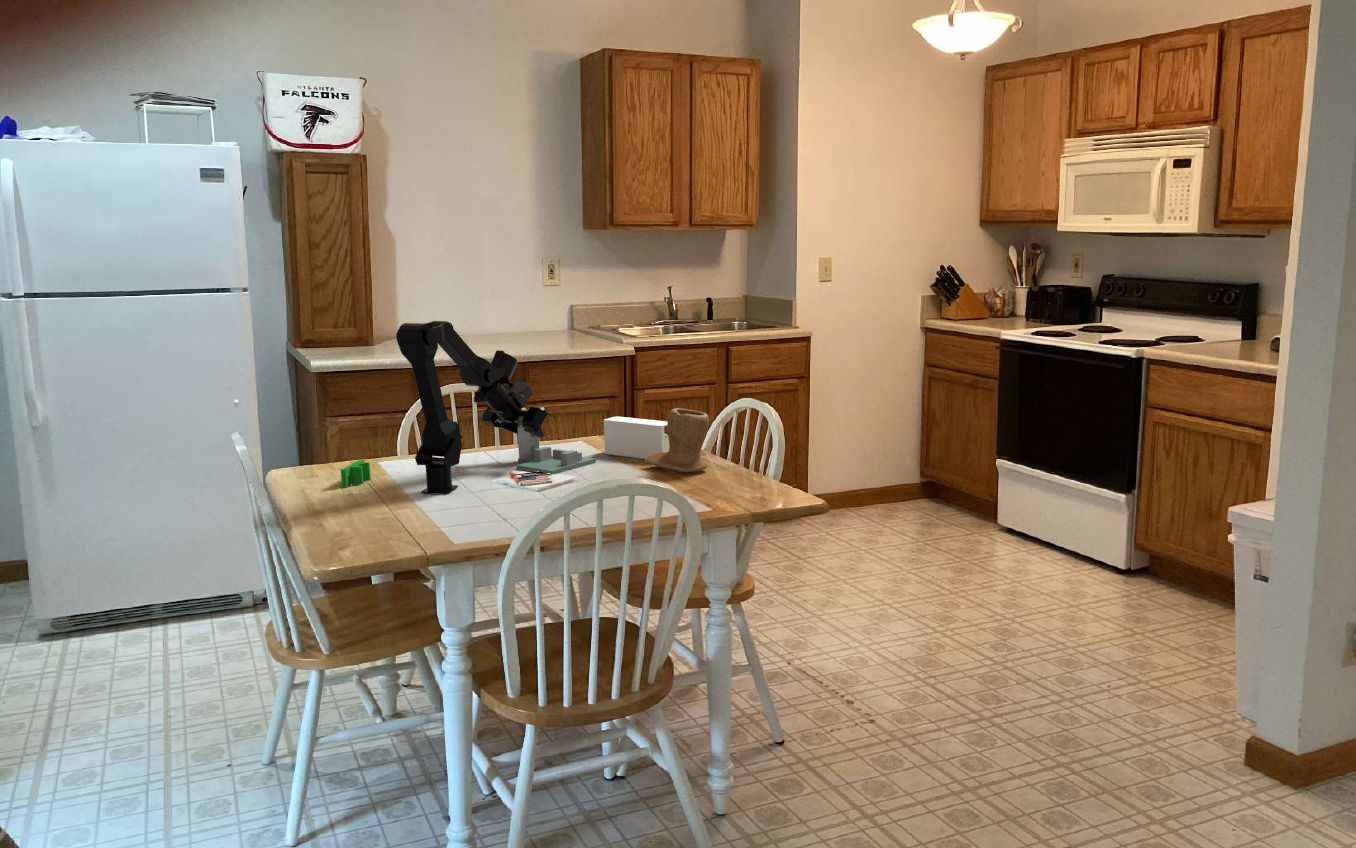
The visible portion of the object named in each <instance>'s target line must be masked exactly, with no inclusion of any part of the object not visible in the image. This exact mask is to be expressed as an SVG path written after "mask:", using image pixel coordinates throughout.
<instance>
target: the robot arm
mask: <svg viewBox="0 0 1356 848" xmlns="http://www.w3.org/2000/svg"><path fill="white" fill-rule="evenodd" d="M395 335H396V336H395V339H396V342H397V344H398V347H399V350H400V353H401V355H402V356H403V357H404V358H405V359H406V360H407V361H408V362H409V363H410V365H411V368H412V372H413V376H414V381H415V385H416V387H417V388H416V389H417V393H418V395H419V396H418V397H419V400H420V405H421V409H422V414H423V418H424V421H425V422H424V423H425V425H424V427H423V429H422V433H421V440H422V441H421V445H420V446H419V448H418V451H417V452H416V454H415V456H414V459H415V463H416V465H417V466H425V477H426V480H425V481H426V487H425V488H424V489H422V490H421V494H436V495H437V494H439V495H441V494H442V495H443V494H444V495H449V494H450V493H451V492H453V491H455V490H456V489H458V487H459V486H458V485H456V484H454V485H453V479H452V478H453V477H452V467H453V466H456V465H459V464H460V459H461V453H462V447H463V445H462V443H463V442H462V438H463V436H462V434H461V431H460V425H459V423H458V421H451V420H450V419H449V418H448V414H447V411H446V406H445V402H444V398H443V394H442V390H441V385H440V380H439V375H438V372H437V367H436V363H435V357H436V354H437V352H438V350H439V349H438V348H439V347H440V348H441V349H442V350H443V351H444V352H445V353H446V355H447V356H448V357H449V359H451V360H452V361H453V363H455V365H456V366H457V367H458V375H459V376H460V378H461V380H462V381H463V383H464V384H465V385H466V386H467V387H477V390H476V391H474V396H473V402H474V403H485V404H486V405H488V406H487V407H486V409H485V410H484V412H483V414H482V415H481V416H482V422H483V423H484V424H485V425H486V426H490V427H494V428H497V429H501V430H502V431H503V430H504V431H507V432H510V433H513V434H516V435H518V428H517V420H518V419H521V420H522V426H523V428H524V431H525V432H528V433H530V434H532V435H535V436H537V437H539V439H542V438H543V437H544V432H543V429H542V425H543V423H544V422H545V420H546V418H547V416H548V415H549V412H548V410H546V408H545V407H544V406H537V405H536V406H535V405H533V406H529V408H528V409H524V408H525V406H526V404H527V403H526V401H527V400H528V399H529V398H530V397H533V396H534V391H533V388H532V386H531V384H530V382H526V381H525V382H524V381H516V382H513V381H510V380H511V379H512V376H513V374H514V373H515V372H514V371H515V370H516V368H517V366H518V359H517V358H516V357H514V356H513V355H511V354H508V353H506V352H505V351H504V350H498V349H497V350H495V353H494V356H493V358H492V360H491V362H490V361H489V360H487V359H486V358H484V357H481V356H479V355H477V354H476V353H475V352H474V351H473V350H472V349H471V347H470V346H469V345H468V343H466V341H465V340H464V339H463V338H462V337H461V336H460V334H459V333H458V332H457V331H456V330H455V328H454V325H453V323H451V322H450V321H447V320H432V321H429V322H424V323H419V322H418V323H417V322H404V323H402V324H401V325H399V327H398V329H397V331H396V334H395ZM526 410H528V411H526Z"/></svg>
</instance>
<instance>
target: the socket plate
mask: <svg viewBox="0 0 1356 848" xmlns="http://www.w3.org/2000/svg"><path fill="white" fill-rule="evenodd" d="M596 460H597V459H596V458H594V457H587V456H583V454H582V452H580V451H579V452H578V450H573V449H571V450H565V449H559V448H554V449H552V447H551V446H542V447H539V448H537V449H535V460H534V461H530V462H526V463H523V462H522V463H519V464H516V470H520V471H526V470H528V471H527V472H531V471H539V472H543V473H550V474H553V475H557V474H560V473H564V472H567V471H570V470H574V469H577V468H581V467H585V466H588V465H591V464H592V465H593V464H596V463H597V462H596ZM543 473H542V474H543Z"/></svg>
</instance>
